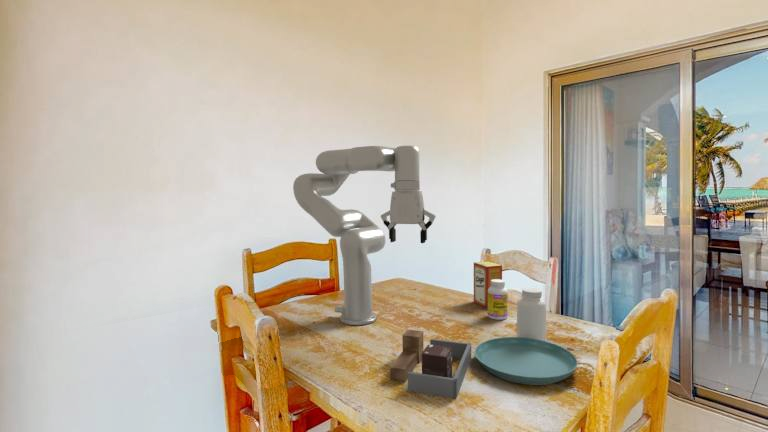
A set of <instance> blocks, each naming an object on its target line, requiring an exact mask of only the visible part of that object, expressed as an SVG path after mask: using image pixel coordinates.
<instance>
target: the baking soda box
mask: <svg viewBox="0 0 768 432" xmlns="http://www.w3.org/2000/svg"><path fill="white" fill-rule="evenodd" d="M493 279H501V280H503V265H502V264H498V263H495V262H491V261H476V262H473V303H475V304H477V305H479V306H481V307H483V308H485V309H488V289H489V288H490V287H491V286H492V285H491V280H493Z"/></svg>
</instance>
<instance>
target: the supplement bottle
mask: <svg viewBox="0 0 768 432" xmlns="http://www.w3.org/2000/svg"><path fill="white" fill-rule="evenodd" d="M491 285H492V286H491V287H490V288H489V289H488V308H487V317H488V318H490V319H492V320H497V321H500V320H501V321H503V320H506V319H508V316H509V315H508V313H509V311H508V308H509V291H508V289H507V287H505V285H506V280H503V279H502V280H501V279H493V280H491Z"/></svg>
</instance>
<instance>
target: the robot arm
mask: <svg viewBox="0 0 768 432" xmlns="http://www.w3.org/2000/svg"><path fill="white" fill-rule="evenodd" d="M315 166H316V168H317V170H318V171H319V172H321V173H313V172H312V173H311V172H310V173H303V174H300V175H299V176H297V177H296V178H295V179H294V182H293V186H292V187H293V195H294V198H295V201H296V203H297V204H298V205H299V206H300V207H301V208H302V210H304V211H305V212H306V213H307V214H308V215H309V216H310V217H312V219H314V220H315V221H316V222H317V224H319V226H321V227H322V228H323V229H324V230H325V231H326V232H327V233H328V234H329V235H331V236H332V237H335V238H340V239H339V247H340V253H341V257H342V267H343V269H342V270H343V297H344V299H343V301H344V303H343V304H344V305H340V304H338V305H337V304H336V305H335V306H334V312H335V313H340V314H341V315H340V317H339V320H340V322H341V323H343V324H346V325H350V326H361V325H363V326H364V325H369V324H372V323H374V322H376V320H377V319H378V317H377V315H378V314H376V313H374V312H373V301H372V300H373V297H372V296H373V294H372V293H373V291H372V289H373V288H372V283H373V281H372V266H371V263H370V260H369V258H368V255H370V254H374V253H378V252H380V251H381V250H383V249H384V247H385V245H386V236H385V234H384V232H383V230H382V229H381V227H379V226H378V225H377V224H376V223H375V222H373V221H372V219H370V218H369V217H368V216H367V215H365V214H364V213H363V212H361V211H360V210H357V209H352V208H351V209H341V208H339V207H337V206H335V204H333V203H332V201H331V200H329V199H327V198H325V197H329V196H332V195H335V193H337V192H338V191H339V189H340V188H341V187H342V185H344V182H345V181H346V180H347V179H348V177H350V175H353V174H354V175H356V174H357V173H358V172H366V171H368V172H369V171H371V172H376V171H378V172H380V171H381V172H394V182H391V183H390V188H393V189H394V191H392V192H391V198H390V204H389V205H390V207H389V210H388V211H386V212H385V213H384V212H383V214H381V215H380V218H381V220H382V222H383V225H384V226H386V228H387V230H388V236H389V237H388V238H389V240H390V243H394V242H396V241H397V239H396V238H397V237H396V235H397V233H396V232H397V230H396V228H395V227H396V225H418V226H419V227H420V233H419V234H420V235H419V236H420V243H421V244H424V243H426V241H427V240H428V229H429V228H430V227H431V226H432V225H433V223H434V221H435V219H436V215H435V213H434V214H433V213H432V212H430V211H427V210H426V209H425V205H424V197H423V196H424V195H423V191H421V190H420V189H421V187H420V150H419V147H417V146H415V145H399V146H397V147H388V146H380V145H367V146H366V145H365V146H355V147H352V148H345V149H344V148H342V149H330V150H325V151H322V152H320V153H319V154H318V155H317V156H316V158H315ZM425 216H426V217H428V218H429V219H428V221H427V222H425ZM388 217H389V220H388Z"/></svg>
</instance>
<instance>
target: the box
mask: <svg viewBox="0 0 768 432" xmlns="http://www.w3.org/2000/svg"><path fill="white" fill-rule="evenodd" d="M421 374H428V375H435V376H441V377H448V378H453V357H452V347H446V346H438V345H430V344H427V345H426V347H425V348H423V353H422V360H421Z"/></svg>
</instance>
